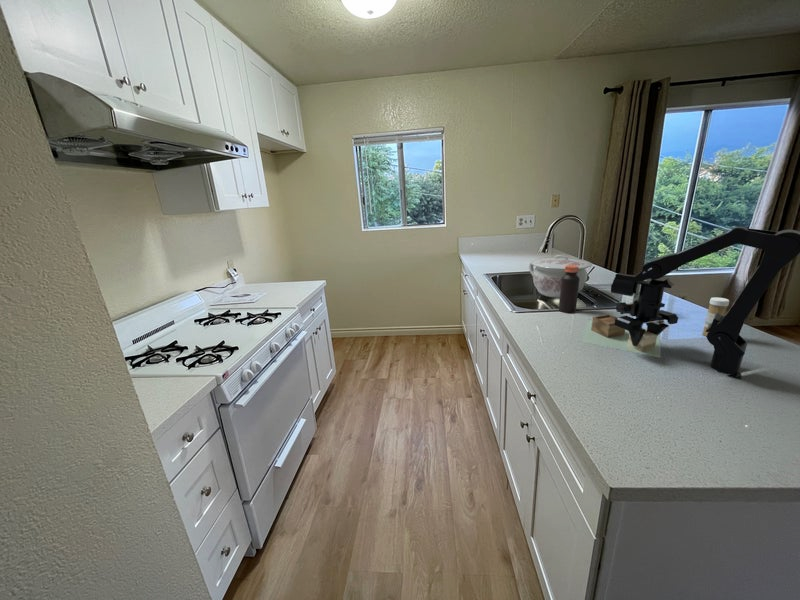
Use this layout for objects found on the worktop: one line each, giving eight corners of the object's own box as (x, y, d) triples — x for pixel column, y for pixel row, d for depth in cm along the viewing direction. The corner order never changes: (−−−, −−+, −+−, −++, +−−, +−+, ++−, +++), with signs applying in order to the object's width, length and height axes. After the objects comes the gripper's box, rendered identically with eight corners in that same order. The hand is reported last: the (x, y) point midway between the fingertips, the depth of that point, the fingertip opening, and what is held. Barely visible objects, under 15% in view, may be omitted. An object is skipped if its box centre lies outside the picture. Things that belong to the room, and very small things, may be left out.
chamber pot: (597, 303, 147) (603, 259, 141) (534, 303, 152) (538, 260, 146) (576, 286, 174) (580, 249, 167) (523, 287, 179) (526, 250, 172)
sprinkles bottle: (721, 339, 107) (732, 301, 103) (703, 337, 110) (713, 300, 106) (717, 334, 111) (727, 297, 107) (699, 332, 113) (708, 296, 109)
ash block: (654, 349, 102) (657, 335, 100) (641, 351, 101) (644, 337, 99) (639, 343, 106) (642, 329, 105) (627, 345, 105) (629, 331, 104)
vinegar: (571, 314, 136) (577, 268, 130) (555, 310, 141) (560, 266, 135) (578, 310, 140) (583, 265, 134) (562, 307, 145) (567, 264, 139)
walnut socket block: (624, 334, 113) (626, 321, 111) (607, 337, 111) (609, 323, 110) (607, 327, 119) (609, 314, 118) (591, 330, 118) (592, 317, 116)
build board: (659, 359, 97) (660, 357, 97) (578, 343, 110) (579, 341, 110) (659, 332, 115) (659, 330, 115) (589, 321, 128) (589, 319, 128)
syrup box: (627, 308, 139) (632, 276, 135) (640, 312, 134) (647, 279, 129) (617, 310, 138) (622, 277, 133) (630, 314, 132) (636, 280, 128)
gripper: (649, 289, 108) (641, 331, 113) (603, 295, 104) (597, 339, 109) (684, 298, 97) (673, 344, 102) (634, 305, 94) (626, 353, 98)
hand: (641, 344), depth 103 cm, fingers closed on ash block, 5 cm apart
